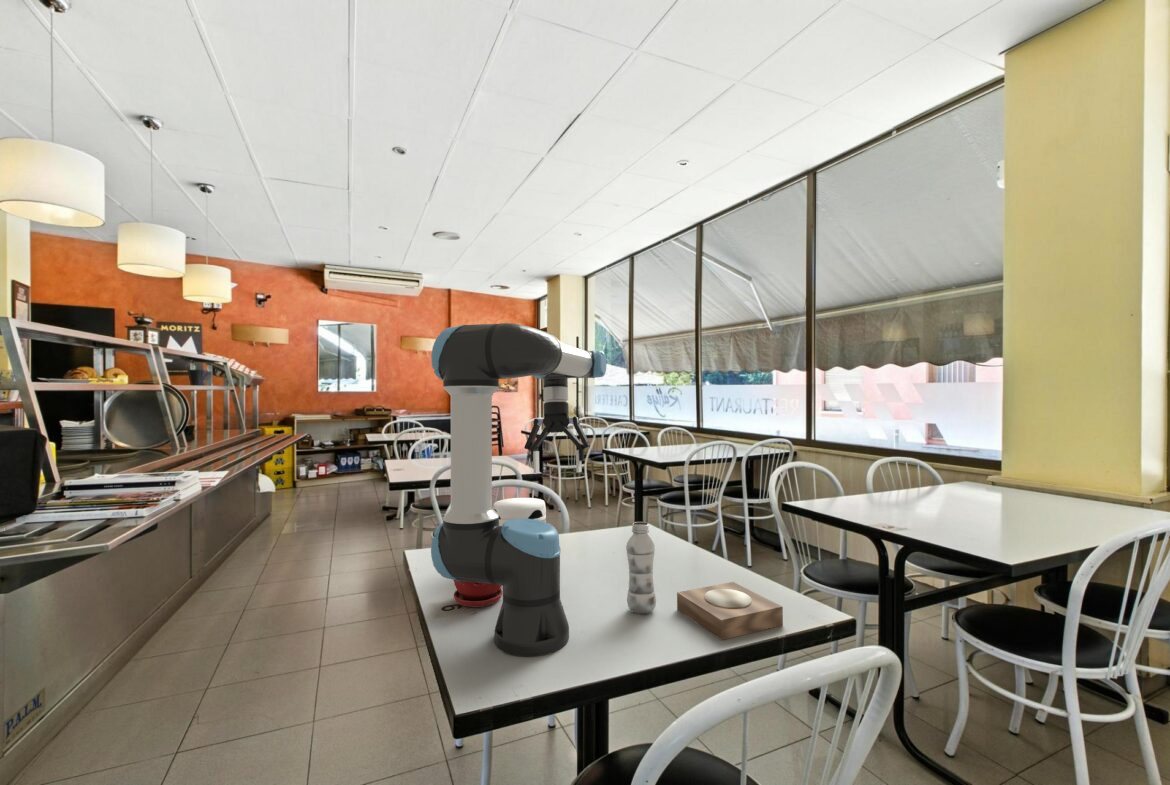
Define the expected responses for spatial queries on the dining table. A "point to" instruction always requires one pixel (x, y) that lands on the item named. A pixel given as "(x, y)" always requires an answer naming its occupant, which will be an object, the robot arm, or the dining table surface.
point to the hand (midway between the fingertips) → (557, 472)
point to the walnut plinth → (729, 610)
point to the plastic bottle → (640, 570)
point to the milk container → (520, 509)
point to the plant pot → (476, 593)
